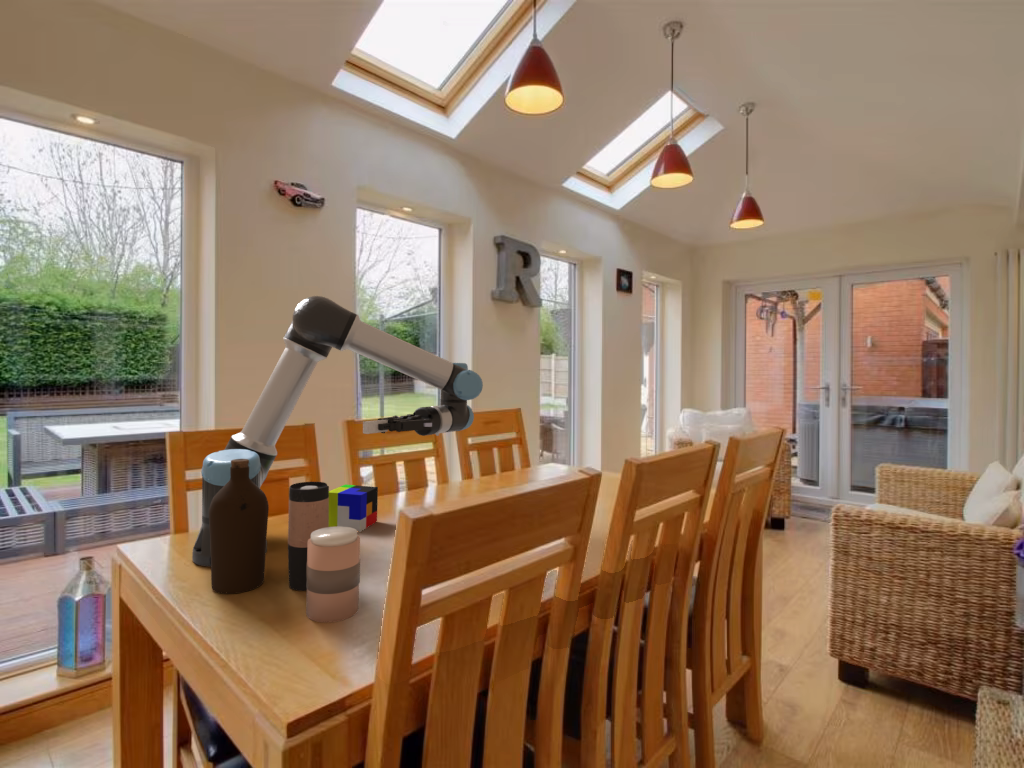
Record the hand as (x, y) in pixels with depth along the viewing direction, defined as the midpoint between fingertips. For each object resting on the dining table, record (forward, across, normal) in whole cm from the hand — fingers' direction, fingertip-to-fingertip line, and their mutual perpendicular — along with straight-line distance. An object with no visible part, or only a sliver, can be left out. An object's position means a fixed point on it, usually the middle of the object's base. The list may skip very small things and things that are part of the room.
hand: (365, 427), depth 124 cm
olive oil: (+25, +8, -30) cm, 40 cm away
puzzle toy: (-16, +20, -30) cm, 40 cm away
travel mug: (+17, -2, -30) cm, 35 cm away
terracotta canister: (+22, -16, -30) cm, 41 cm away
